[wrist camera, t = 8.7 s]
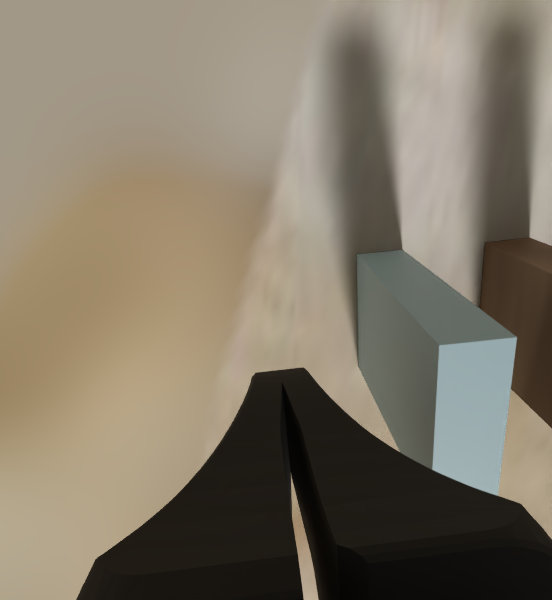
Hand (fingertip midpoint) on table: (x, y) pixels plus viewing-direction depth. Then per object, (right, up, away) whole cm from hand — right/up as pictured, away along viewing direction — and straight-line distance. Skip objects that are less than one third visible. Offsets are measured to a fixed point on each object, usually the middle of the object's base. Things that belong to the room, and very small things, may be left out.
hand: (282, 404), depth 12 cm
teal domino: (+4, +2, +5) cm, 6 cm away
